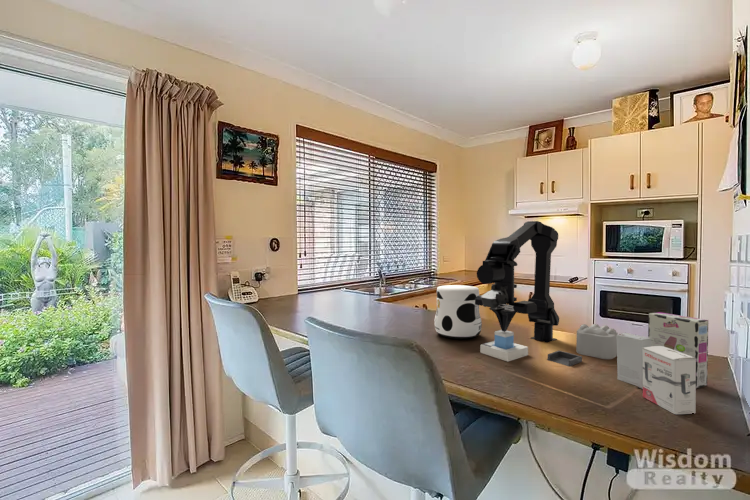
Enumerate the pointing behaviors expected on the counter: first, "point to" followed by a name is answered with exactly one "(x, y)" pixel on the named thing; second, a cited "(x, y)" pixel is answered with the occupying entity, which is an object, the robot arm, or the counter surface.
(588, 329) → the grey lumpy container
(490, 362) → the counter surface
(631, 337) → the skincare box
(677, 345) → the candy bar box
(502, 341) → the plug
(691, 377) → the ink box
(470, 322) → the milk container
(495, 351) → the port
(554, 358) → the grey shallow square piece
